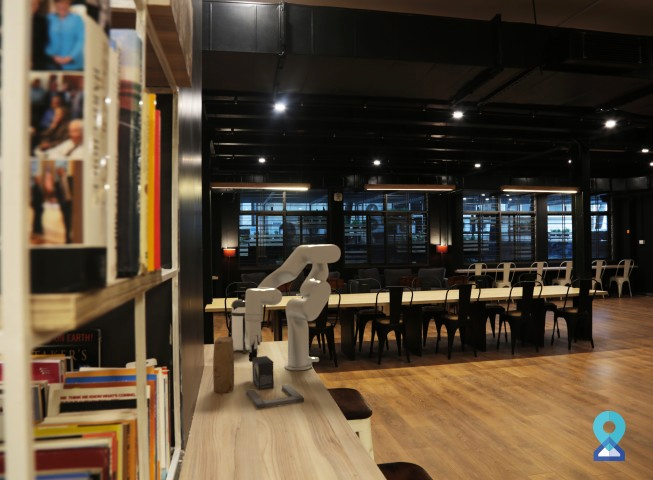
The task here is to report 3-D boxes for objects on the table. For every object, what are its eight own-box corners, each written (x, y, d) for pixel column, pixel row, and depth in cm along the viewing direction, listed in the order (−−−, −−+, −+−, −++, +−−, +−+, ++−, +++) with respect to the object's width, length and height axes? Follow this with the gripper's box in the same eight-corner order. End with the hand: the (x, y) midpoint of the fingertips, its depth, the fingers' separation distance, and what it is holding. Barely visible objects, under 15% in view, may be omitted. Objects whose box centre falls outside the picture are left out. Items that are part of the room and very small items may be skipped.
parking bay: (289, 388, 175) (289, 384, 175) (304, 401, 159) (304, 397, 159) (246, 394, 168) (246, 390, 168) (257, 409, 153) (257, 404, 153)
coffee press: (259, 353, 234) (259, 295, 235) (228, 354, 232) (228, 296, 232) (259, 346, 251) (258, 292, 252) (230, 347, 249) (229, 293, 249)
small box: (251, 383, 182) (251, 357, 183) (267, 381, 185) (266, 355, 185) (258, 390, 173) (257, 363, 173) (274, 388, 175) (274, 361, 176)
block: (232, 393, 169) (232, 340, 169) (212, 394, 168) (211, 341, 169) (235, 385, 180) (235, 334, 180) (216, 385, 179) (216, 335, 179)
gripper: (241, 315, 197) (240, 358, 196) (249, 320, 183) (248, 365, 182) (258, 315, 200) (257, 357, 199) (267, 319, 186) (266, 364, 185)
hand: (252, 361), depth 190 cm, fingers closed
